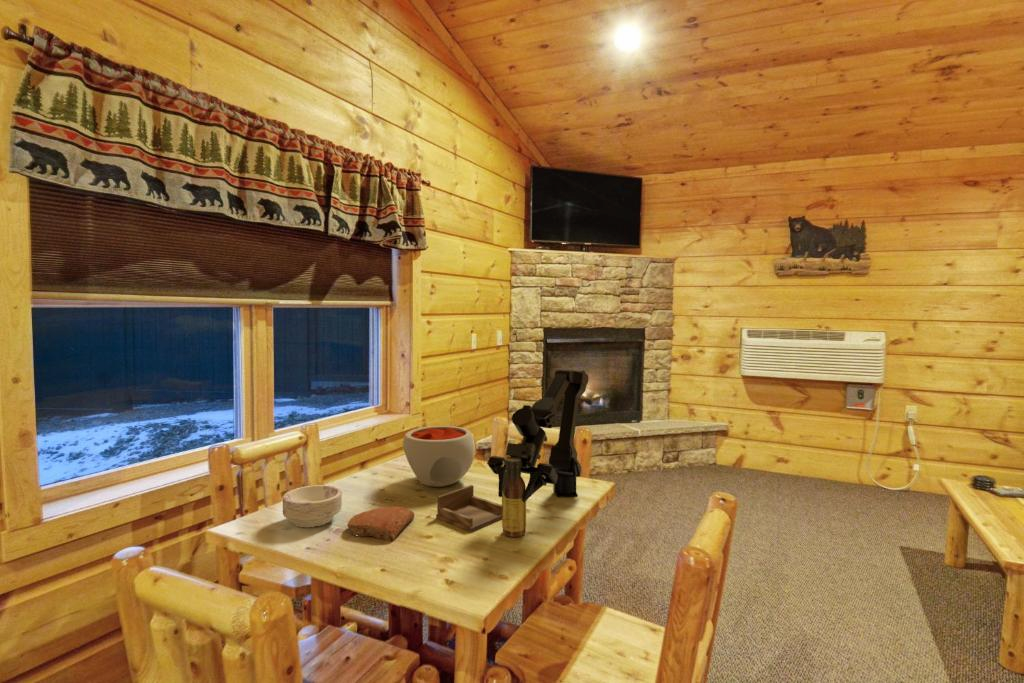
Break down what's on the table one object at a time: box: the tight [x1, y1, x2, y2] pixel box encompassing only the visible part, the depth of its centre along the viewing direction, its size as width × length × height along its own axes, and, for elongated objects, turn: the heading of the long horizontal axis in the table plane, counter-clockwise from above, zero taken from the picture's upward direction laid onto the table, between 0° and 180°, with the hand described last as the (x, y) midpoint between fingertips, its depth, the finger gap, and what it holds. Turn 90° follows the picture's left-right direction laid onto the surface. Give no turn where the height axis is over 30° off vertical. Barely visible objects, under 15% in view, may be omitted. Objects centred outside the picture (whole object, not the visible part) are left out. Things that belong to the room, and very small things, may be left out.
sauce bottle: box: [501, 456, 527, 538], centre depth 139 cm, size 6×6×20 cm
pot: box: [402, 425, 476, 488], centre depth 179 cm, size 24×24×18 cm
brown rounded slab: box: [346, 506, 415, 542], centre depth 143 cm, size 15×6×15 cm
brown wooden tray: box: [435, 484, 502, 533], centre depth 150 cm, size 14×14×6 cm
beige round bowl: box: [282, 484, 343, 528], centre depth 147 cm, size 15×15×8 cm
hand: (511, 498), depth 138 cm, fingers open, 7 cm apart
